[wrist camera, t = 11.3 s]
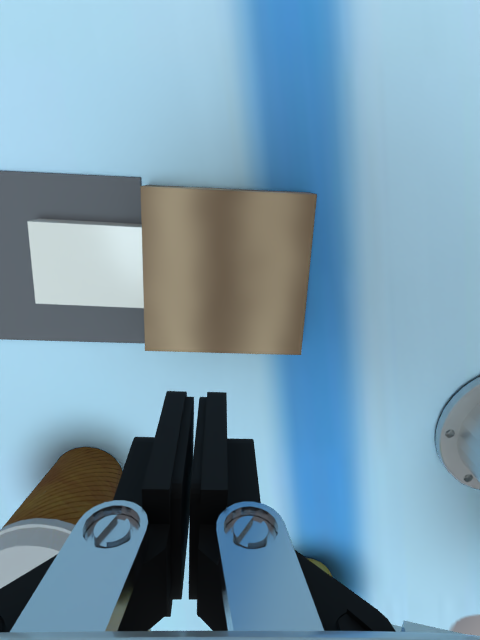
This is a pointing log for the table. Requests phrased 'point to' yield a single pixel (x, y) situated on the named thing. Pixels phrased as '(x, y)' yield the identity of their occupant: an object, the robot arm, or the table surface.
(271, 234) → the block
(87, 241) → the tile
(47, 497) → the disposable coffee cup
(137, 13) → the table surface
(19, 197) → the mat
